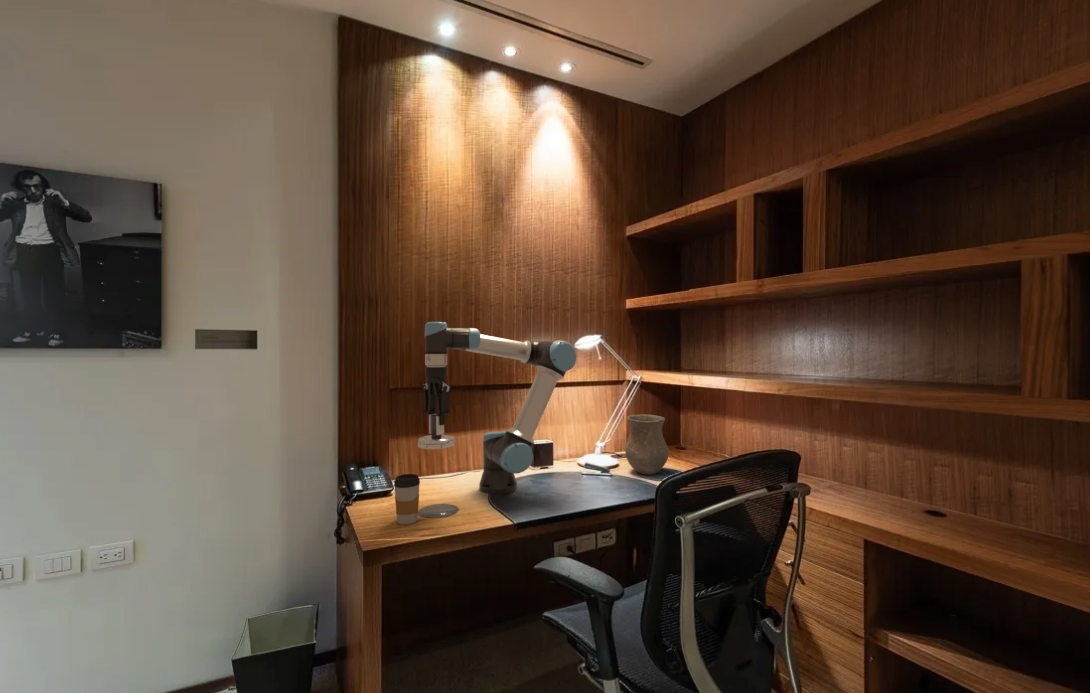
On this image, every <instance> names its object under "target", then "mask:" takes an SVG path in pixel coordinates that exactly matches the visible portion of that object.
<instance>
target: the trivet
mask: <svg viewBox="0 0 1090 693" xmlns="http://www.w3.org/2000/svg"><path fill="white" fill-rule="evenodd" d="M459 511H460V508H459V507H458V506H457V505H454V504H452V503H451V504H450V503H436V504H431V505H430V504H429V505H427V506H423V507H422V508H419V509H418V517H421V518H424V519H433V520H436V519H437V520H438V519H443V518H449V517H452V516H453V515H456V514H457V513H458V512H459Z"/></svg>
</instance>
